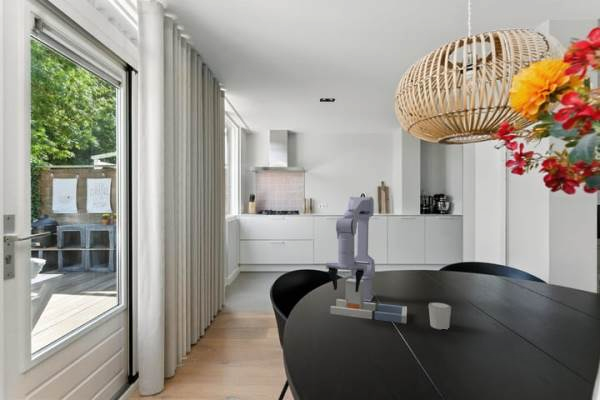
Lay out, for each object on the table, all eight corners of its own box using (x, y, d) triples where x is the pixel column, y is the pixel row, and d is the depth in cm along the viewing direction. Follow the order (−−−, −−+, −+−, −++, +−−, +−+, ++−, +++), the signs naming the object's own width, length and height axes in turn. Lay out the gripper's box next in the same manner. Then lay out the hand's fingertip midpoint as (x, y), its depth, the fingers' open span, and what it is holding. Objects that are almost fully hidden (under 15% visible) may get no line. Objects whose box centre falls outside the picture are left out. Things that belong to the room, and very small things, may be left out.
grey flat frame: (337, 305, 125) (337, 299, 125) (406, 313, 116) (406, 306, 116) (330, 313, 115) (330, 307, 115) (406, 323, 106) (406, 316, 106)
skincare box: (345, 312, 117) (345, 280, 117) (348, 309, 121) (349, 278, 121) (360, 315, 114) (361, 282, 115) (364, 311, 118) (364, 279, 118)
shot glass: (433, 321, 109) (433, 300, 109) (454, 326, 104) (454, 305, 104) (425, 326, 104) (425, 305, 104) (446, 332, 99) (446, 309, 99)
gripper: (323, 252, 110) (323, 291, 110) (365, 254, 105) (365, 295, 105) (328, 249, 117) (328, 286, 116) (368, 251, 112) (367, 290, 112)
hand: (346, 290), depth 111 cm, fingers open, 7 cm apart
